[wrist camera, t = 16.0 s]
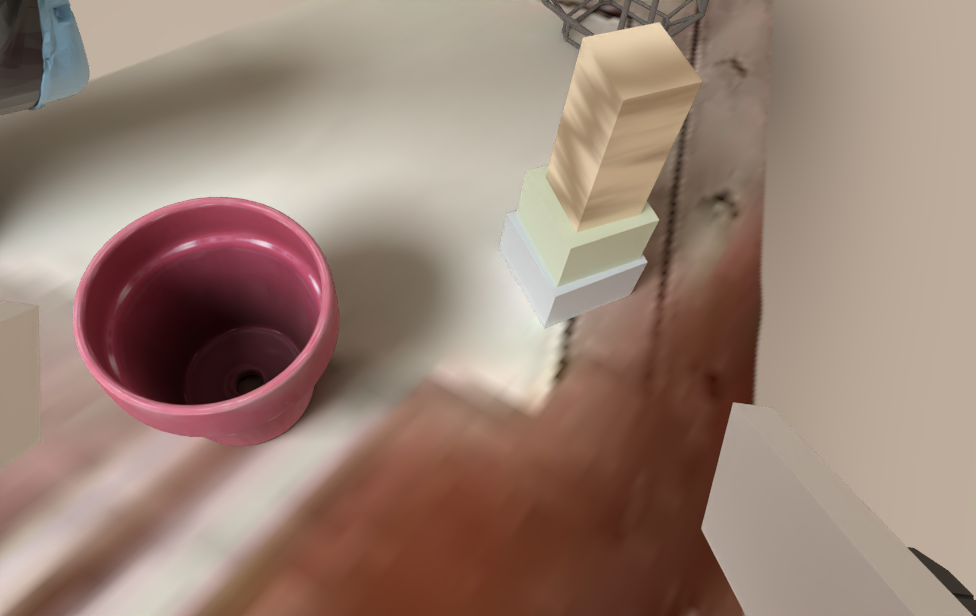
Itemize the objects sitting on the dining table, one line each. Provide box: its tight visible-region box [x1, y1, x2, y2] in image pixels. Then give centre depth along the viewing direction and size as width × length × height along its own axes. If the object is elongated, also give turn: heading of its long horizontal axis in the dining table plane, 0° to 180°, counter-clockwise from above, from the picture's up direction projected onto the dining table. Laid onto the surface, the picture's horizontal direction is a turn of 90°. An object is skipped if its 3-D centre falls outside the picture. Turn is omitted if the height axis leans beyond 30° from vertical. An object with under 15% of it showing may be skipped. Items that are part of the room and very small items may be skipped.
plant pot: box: [73, 197, 339, 446], centre depth 46 cm, size 14×14×13 cm
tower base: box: [499, 210, 648, 328], centre depth 57 cm, size 8×8×5 cm
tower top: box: [517, 165, 659, 287], centre depth 52 cm, size 7×7×5 cm
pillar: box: [546, 22, 703, 232], centre depth 45 cm, size 5×5×12 cm
